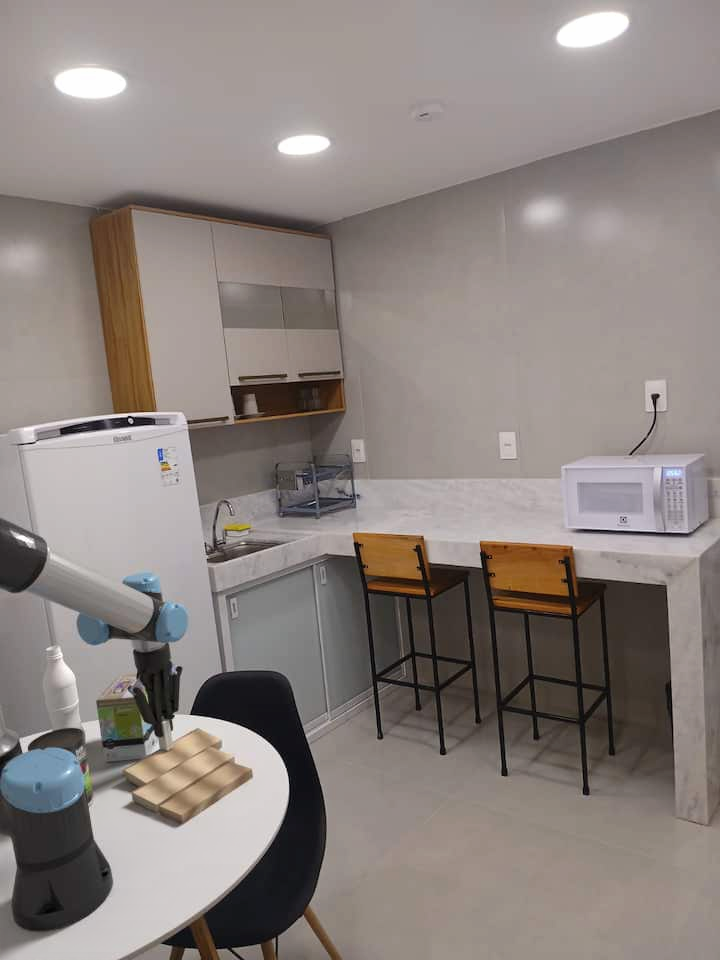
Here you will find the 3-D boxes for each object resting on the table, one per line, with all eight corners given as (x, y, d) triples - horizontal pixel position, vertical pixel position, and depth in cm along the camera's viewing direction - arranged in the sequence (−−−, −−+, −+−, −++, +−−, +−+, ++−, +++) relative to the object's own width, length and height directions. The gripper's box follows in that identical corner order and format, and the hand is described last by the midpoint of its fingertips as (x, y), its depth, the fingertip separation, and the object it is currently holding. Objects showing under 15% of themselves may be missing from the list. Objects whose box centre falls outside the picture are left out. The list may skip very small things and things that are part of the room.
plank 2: (157, 813, 141) (156, 804, 141) (132, 800, 146) (131, 791, 146) (235, 763, 156) (234, 755, 156) (209, 753, 161) (208, 746, 161)
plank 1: (147, 791, 149) (147, 783, 149) (123, 777, 154) (123, 769, 154) (222, 746, 165) (221, 739, 164) (198, 734, 170) (197, 727, 169)
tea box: (148, 759, 164) (138, 695, 162) (104, 763, 164) (93, 700, 162) (167, 727, 179) (158, 669, 177) (126, 732, 179) (116, 673, 177)
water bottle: (47, 757, 170) (29, 653, 167) (68, 742, 177) (50, 642, 174) (73, 758, 168) (55, 653, 165) (93, 743, 175) (76, 642, 171)
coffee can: (104, 791, 152) (93, 726, 150) (75, 821, 142) (63, 752, 140) (60, 791, 154) (48, 727, 152) (28, 820, 144) (15, 752, 142)
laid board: (183, 824, 136) (181, 814, 136) (159, 814, 141) (158, 804, 140) (253, 777, 150) (251, 768, 150) (229, 769, 155) (228, 760, 154)
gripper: (135, 660, 150) (152, 766, 154) (186, 637, 160) (201, 737, 164) (113, 654, 154) (130, 758, 158) (164, 632, 165) (179, 730, 169)
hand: (166, 747), depth 161 cm, fingers closed
